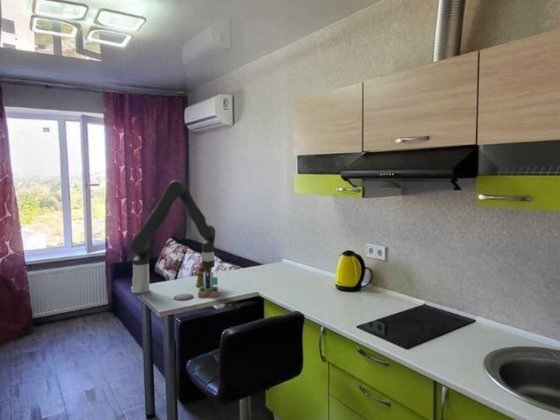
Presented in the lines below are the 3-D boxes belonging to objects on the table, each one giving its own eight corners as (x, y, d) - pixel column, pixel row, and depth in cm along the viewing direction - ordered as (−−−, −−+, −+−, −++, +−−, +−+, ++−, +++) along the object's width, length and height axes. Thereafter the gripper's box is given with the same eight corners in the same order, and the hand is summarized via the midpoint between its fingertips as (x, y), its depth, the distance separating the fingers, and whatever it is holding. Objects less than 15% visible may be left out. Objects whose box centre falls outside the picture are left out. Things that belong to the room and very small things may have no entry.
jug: (203, 295, 230) (203, 274, 229) (203, 293, 235) (203, 272, 234) (217, 295, 231) (217, 273, 230) (217, 292, 236) (217, 271, 235)
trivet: (172, 300, 220) (172, 299, 220) (175, 295, 231) (175, 294, 231) (192, 300, 221) (192, 299, 221) (194, 294, 232) (194, 293, 232)
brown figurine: (204, 290, 241) (204, 261, 240) (193, 285, 251) (193, 258, 250) (216, 287, 247) (216, 259, 246) (205, 283, 257) (205, 256, 256)
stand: (198, 297, 227) (198, 292, 226) (199, 291, 238) (199, 287, 237) (217, 296, 228) (217, 291, 228) (217, 291, 239) (217, 286, 239)
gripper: (202, 256, 238) (202, 284, 239) (200, 261, 223) (201, 290, 225) (214, 256, 239) (215, 283, 240) (214, 261, 224) (214, 290, 226)
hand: (208, 286), depth 232 cm, fingers closed on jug, 5 cm apart
